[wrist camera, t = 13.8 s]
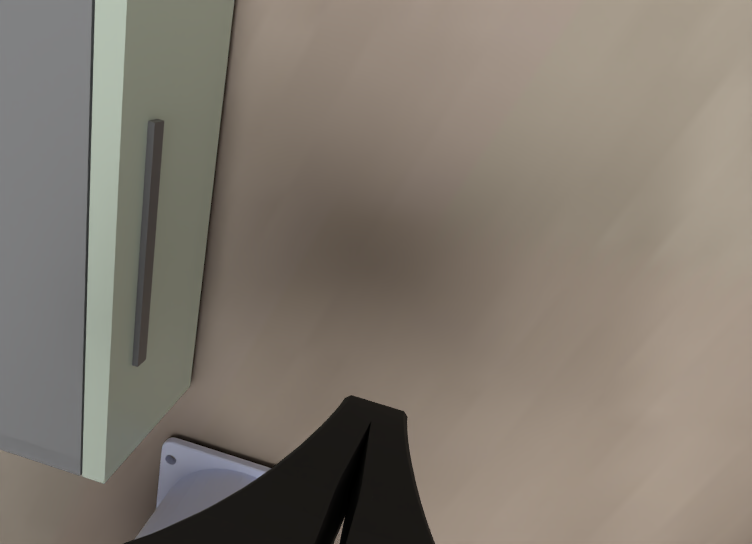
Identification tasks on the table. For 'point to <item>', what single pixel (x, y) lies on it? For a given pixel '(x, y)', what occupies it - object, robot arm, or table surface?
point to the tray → (148, 211)
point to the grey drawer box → (44, 226)
